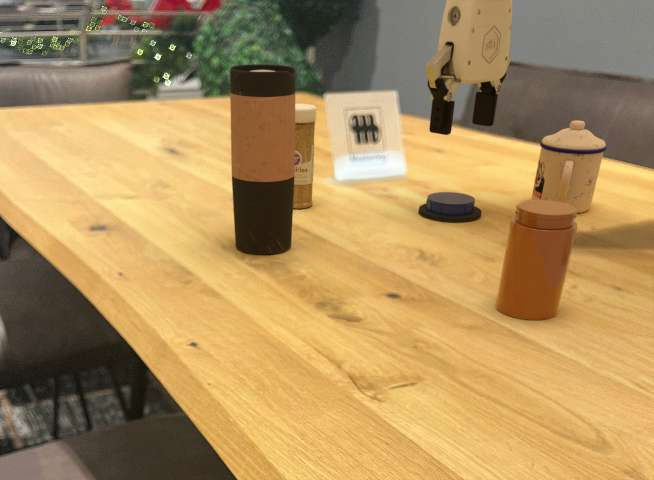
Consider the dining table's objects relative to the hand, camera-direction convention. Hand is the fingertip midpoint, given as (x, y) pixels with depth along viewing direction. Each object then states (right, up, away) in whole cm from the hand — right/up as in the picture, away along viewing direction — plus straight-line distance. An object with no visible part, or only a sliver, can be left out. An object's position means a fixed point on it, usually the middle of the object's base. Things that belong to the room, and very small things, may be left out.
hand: (461, 129), depth 104 cm
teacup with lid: (+17, -8, +9) cm, 21 cm away
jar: (+1, -31, -23) cm, 38 cm away
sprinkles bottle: (-22, -7, +10) cm, 25 cm away
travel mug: (-27, -19, -7) cm, 33 cm away
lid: (0, -8, +6) cm, 9 cm away
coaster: (0, -9, +7) cm, 11 cm away
